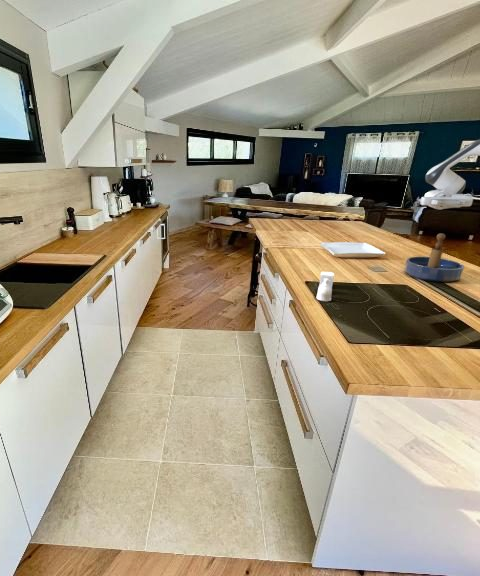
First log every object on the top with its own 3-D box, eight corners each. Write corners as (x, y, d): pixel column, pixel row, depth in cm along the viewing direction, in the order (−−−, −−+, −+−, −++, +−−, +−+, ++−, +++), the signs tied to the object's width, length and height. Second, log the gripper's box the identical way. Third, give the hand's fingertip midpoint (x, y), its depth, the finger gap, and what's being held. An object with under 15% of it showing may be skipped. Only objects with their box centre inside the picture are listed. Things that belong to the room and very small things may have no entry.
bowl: (450, 270, 147) (453, 258, 145) (468, 285, 129) (472, 271, 127) (399, 267, 154) (402, 255, 152) (410, 280, 136) (413, 266, 134)
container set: (319, 283, 134) (321, 271, 132) (332, 284, 132) (334, 272, 130) (315, 300, 117) (317, 286, 115) (330, 302, 115) (333, 288, 113)
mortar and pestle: (419, 270, 145) (429, 231, 139) (435, 271, 144) (446, 232, 137) (426, 275, 139) (437, 234, 132) (443, 275, 138) (454, 235, 131)
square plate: (364, 248, 191) (365, 241, 190) (385, 260, 166) (387, 252, 164) (318, 247, 194) (319, 241, 192) (332, 259, 168) (333, 252, 167)
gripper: (418, 193, 161) (426, 195, 149) (467, 194, 154) (479, 196, 142) (415, 206, 164) (422, 209, 151) (463, 207, 157) (475, 210, 145)
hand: (450, 202), depth 147 cm, fingers open, 8 cm apart
